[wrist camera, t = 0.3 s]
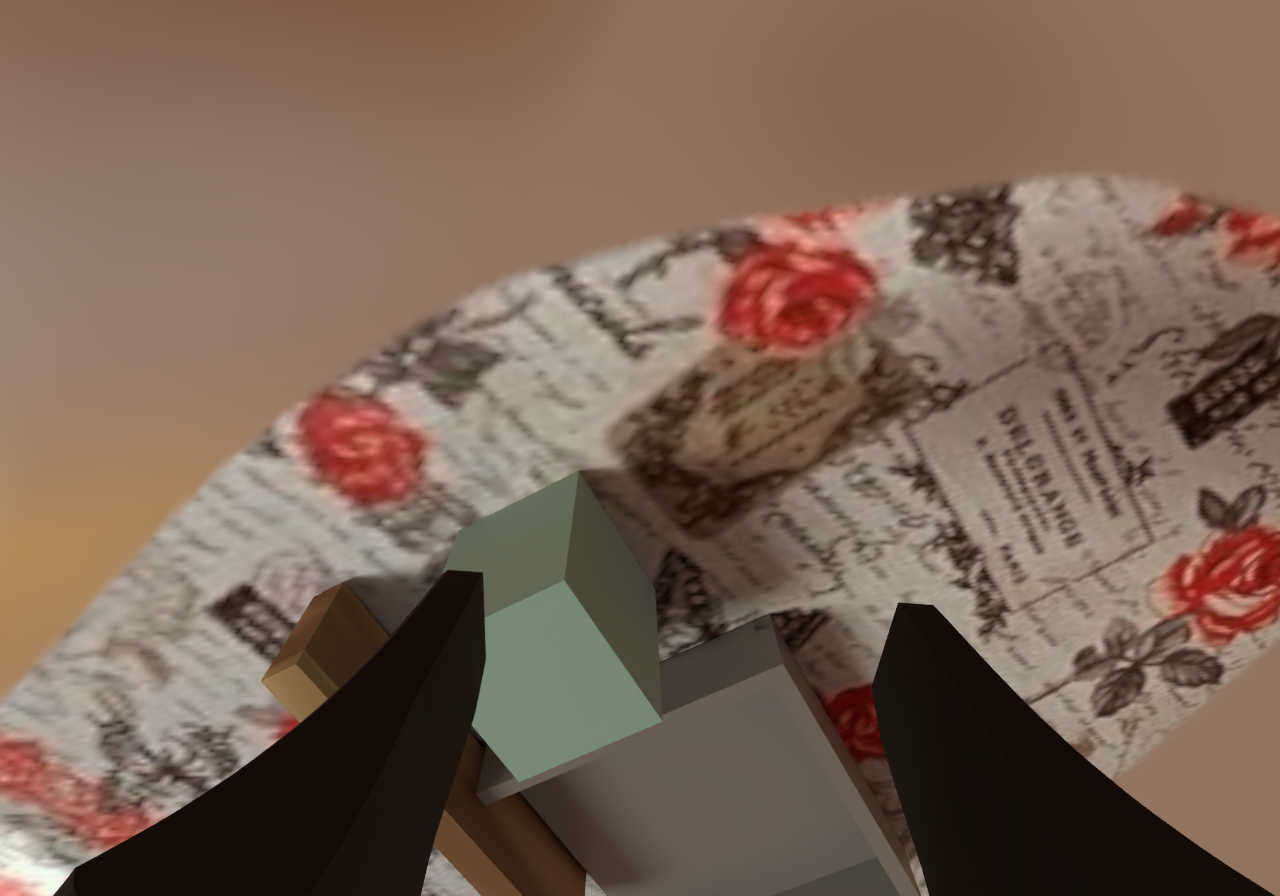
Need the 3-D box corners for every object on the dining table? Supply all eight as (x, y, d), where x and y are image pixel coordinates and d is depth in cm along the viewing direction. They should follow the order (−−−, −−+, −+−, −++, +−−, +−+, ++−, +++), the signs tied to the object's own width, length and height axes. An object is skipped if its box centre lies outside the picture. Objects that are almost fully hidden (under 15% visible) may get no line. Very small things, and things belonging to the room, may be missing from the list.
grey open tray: (652, 935, 33) (654, 998, 31) (488, 738, 28) (475, 794, 26) (902, 843, 31) (924, 903, 29) (769, 614, 26) (782, 663, 24)
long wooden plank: (559, 881, 31) (550, 985, 28) (313, 597, 25) (260, 681, 22) (586, 871, 31) (581, 974, 27) (343, 581, 25) (295, 664, 22)
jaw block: (541, 641, 27) (519, 782, 21) (459, 529, 25) (411, 652, 19) (655, 588, 26) (662, 721, 20) (579, 469, 24) (564, 580, 19)
